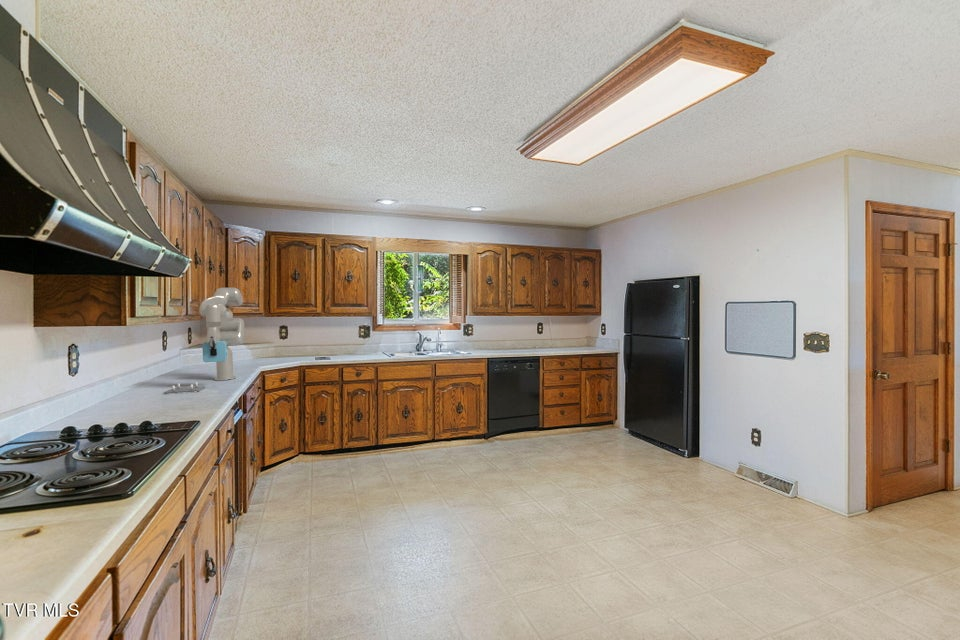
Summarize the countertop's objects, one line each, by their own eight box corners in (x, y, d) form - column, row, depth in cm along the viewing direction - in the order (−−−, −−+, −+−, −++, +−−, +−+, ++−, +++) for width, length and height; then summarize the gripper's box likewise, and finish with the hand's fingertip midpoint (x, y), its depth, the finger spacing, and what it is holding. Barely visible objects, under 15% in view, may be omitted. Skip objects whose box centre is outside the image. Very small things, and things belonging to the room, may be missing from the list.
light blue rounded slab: (227, 360, 279) (226, 340, 279) (225, 361, 275) (225, 341, 274) (204, 361, 275) (203, 341, 274) (203, 362, 271) (202, 342, 270)
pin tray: (173, 389, 265) (172, 383, 265) (205, 387, 270) (205, 381, 270) (163, 394, 252) (163, 387, 252) (198, 391, 256) (197, 384, 256)
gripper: (210, 324, 281) (212, 354, 282) (202, 325, 265) (203, 357, 265) (224, 324, 283) (225, 353, 284) (216, 325, 267) (218, 356, 267)
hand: (215, 354), depth 275 cm, fingers closed on light blue rounded slab, 4 cm apart
